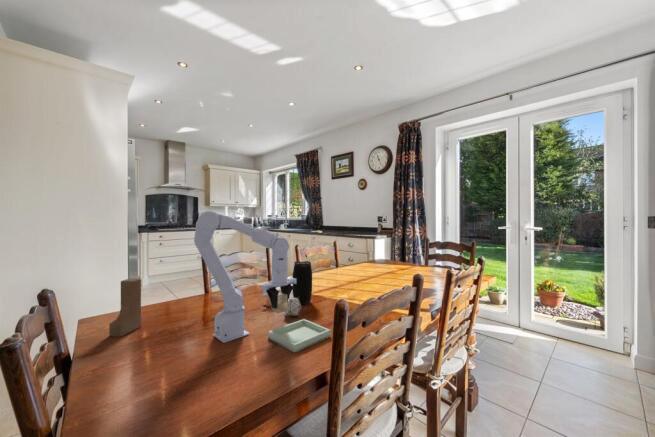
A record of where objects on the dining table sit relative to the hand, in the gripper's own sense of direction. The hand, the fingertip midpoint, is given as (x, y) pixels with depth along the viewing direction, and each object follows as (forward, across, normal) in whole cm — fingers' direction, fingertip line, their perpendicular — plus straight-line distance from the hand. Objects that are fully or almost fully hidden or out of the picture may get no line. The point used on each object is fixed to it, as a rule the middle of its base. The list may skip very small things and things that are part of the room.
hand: (279, 306), depth 102 cm
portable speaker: (+9, +26, +17) cm, 32 cm away
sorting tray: (+8, +1, -11) cm, 14 cm away
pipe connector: (+9, +14, +25) cm, 30 cm away
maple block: (+2, 0, 0) cm, 2 cm away
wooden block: (+8, -40, +37) cm, 55 cm away
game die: (+9, +12, +7) cm, 16 cm away
